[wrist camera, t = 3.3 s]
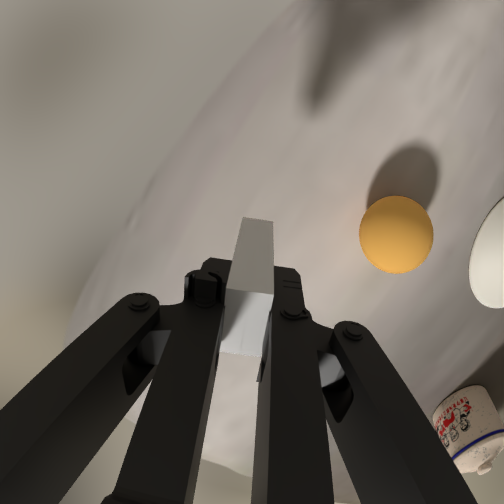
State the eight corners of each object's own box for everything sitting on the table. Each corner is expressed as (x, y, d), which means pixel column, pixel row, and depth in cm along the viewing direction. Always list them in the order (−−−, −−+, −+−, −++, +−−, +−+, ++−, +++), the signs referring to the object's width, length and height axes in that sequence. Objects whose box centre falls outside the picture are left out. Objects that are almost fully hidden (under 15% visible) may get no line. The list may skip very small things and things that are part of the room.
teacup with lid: (456, 380, 31) (488, 454, 21) (497, 383, 32) (529, 445, 21) (407, 436, 37) (423, 503, 26) (450, 435, 37) (469, 493, 26)
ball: (423, 195, 23) (456, 219, 18) (404, 257, 25) (429, 292, 20) (361, 180, 23) (383, 201, 18) (344, 247, 25) (360, 282, 20)
